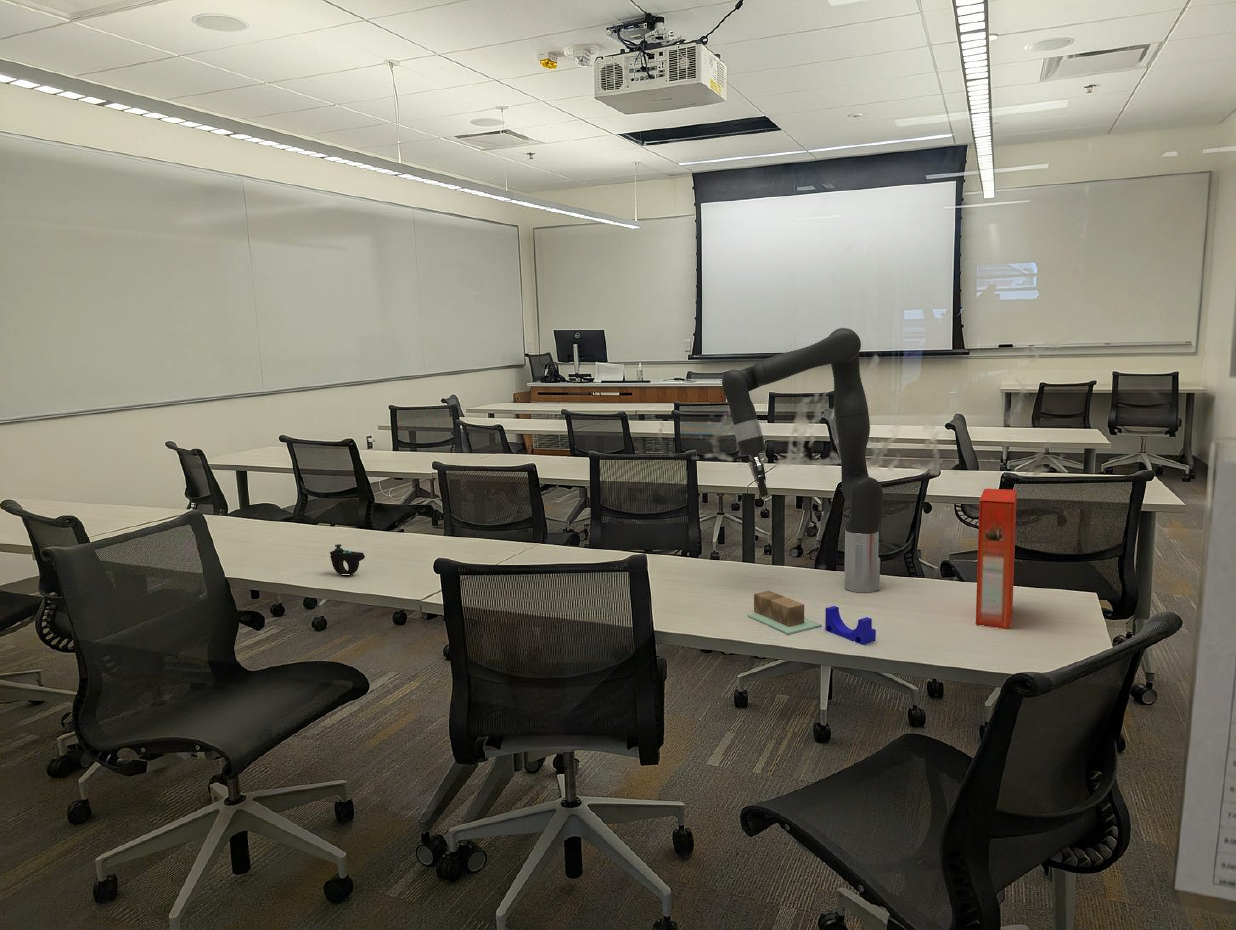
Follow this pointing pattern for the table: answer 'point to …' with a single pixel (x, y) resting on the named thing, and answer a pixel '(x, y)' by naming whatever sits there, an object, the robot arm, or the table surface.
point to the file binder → (996, 557)
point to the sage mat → (783, 628)
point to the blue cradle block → (859, 635)
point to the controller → (345, 555)
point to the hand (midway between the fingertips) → (764, 496)
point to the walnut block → (779, 608)
